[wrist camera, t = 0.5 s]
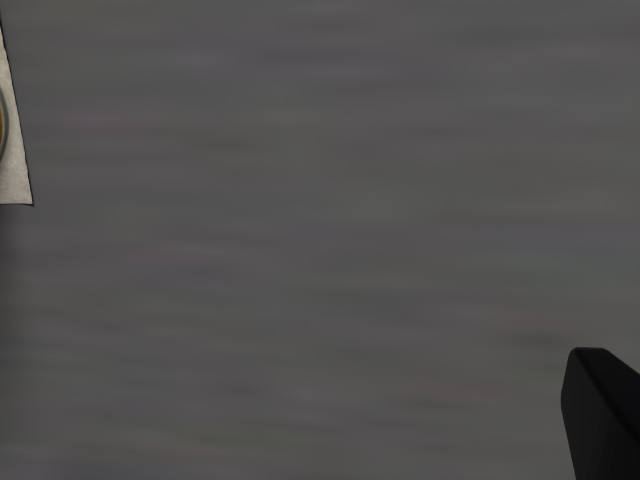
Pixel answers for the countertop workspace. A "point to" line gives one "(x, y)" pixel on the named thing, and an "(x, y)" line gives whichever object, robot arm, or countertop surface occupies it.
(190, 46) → the countertop surface
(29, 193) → the condiment
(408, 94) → the countertop surface
